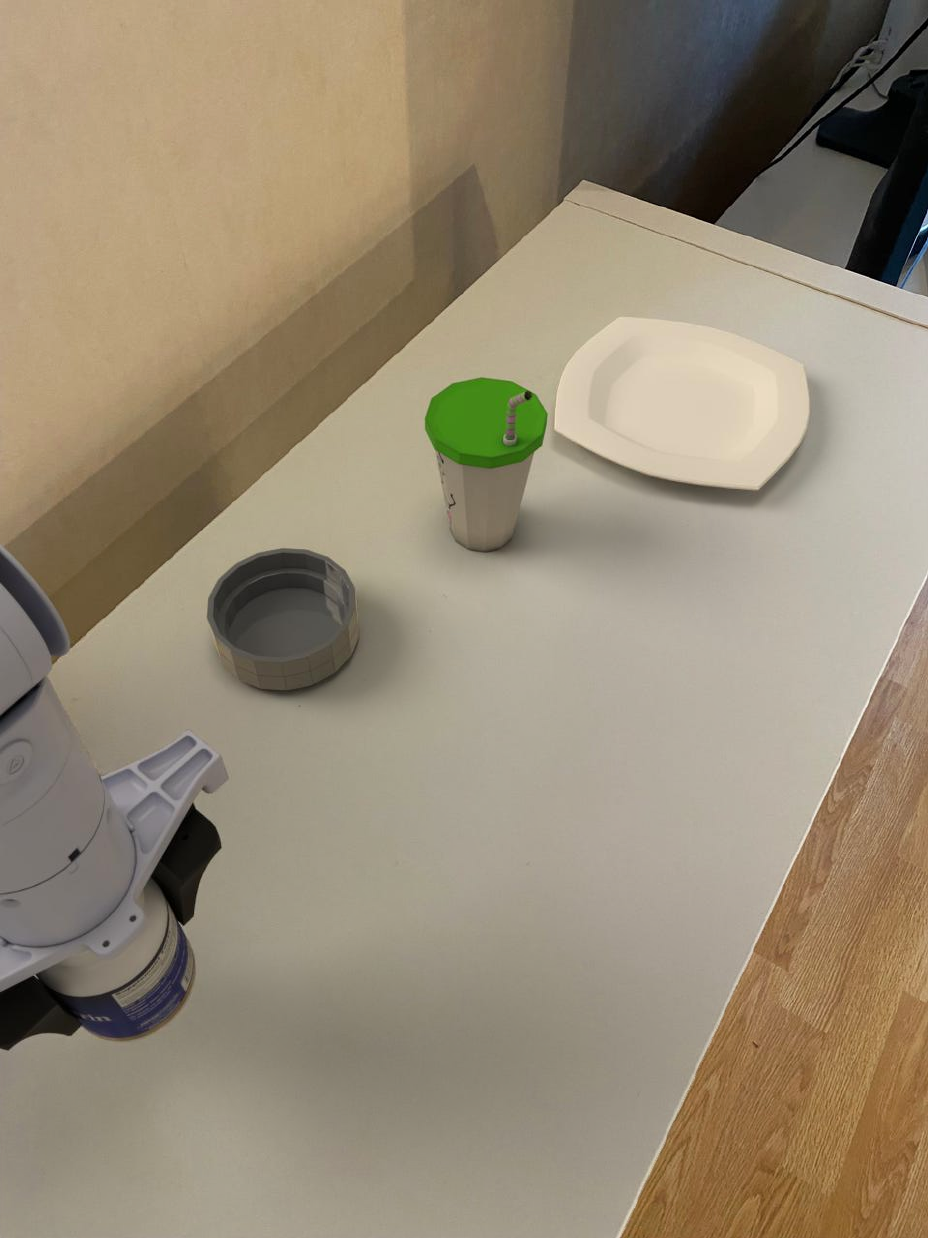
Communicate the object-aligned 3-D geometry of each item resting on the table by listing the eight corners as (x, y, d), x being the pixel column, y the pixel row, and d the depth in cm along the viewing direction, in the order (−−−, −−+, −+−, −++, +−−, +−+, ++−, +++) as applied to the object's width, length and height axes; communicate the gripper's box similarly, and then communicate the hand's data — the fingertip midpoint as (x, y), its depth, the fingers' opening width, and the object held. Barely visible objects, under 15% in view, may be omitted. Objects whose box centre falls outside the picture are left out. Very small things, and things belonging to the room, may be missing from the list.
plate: (772, 530, 73) (779, 510, 71) (521, 455, 77) (523, 435, 76) (824, 376, 84) (831, 356, 82) (602, 318, 88) (605, 299, 87)
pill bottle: (46, 995, 47) (-34, 908, 39) (140, 900, 50) (83, 801, 42) (131, 1074, 45) (65, 999, 37) (224, 970, 47) (181, 880, 40)
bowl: (213, 701, 63) (203, 668, 60) (220, 587, 69) (211, 552, 66) (362, 689, 64) (358, 656, 61) (356, 577, 69) (352, 542, 67)
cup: (427, 490, 75) (423, 315, 63) (533, 489, 75) (548, 315, 63) (427, 570, 70) (423, 396, 58) (540, 569, 70) (559, 395, 58)
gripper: (-113, 1071, 29) (36, 1167, 40) (258, 737, 36) (300, 894, 47) (-239, 919, 32) (-67, 1047, 42) (129, 636, 39) (197, 807, 49)
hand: (119, 960), depth 45 cm, fingers closed on pill bottle, 5 cm apart
